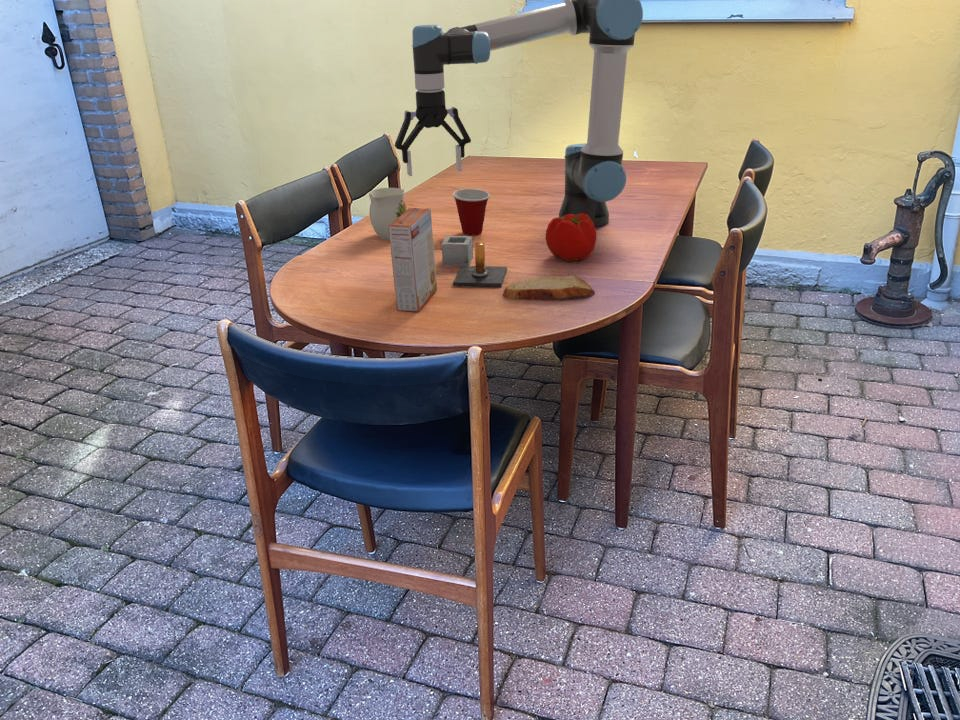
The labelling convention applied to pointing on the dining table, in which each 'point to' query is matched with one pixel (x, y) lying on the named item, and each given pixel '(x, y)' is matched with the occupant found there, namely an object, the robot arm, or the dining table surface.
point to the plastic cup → (471, 209)
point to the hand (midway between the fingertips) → (434, 172)
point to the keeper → (480, 272)
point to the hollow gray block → (457, 251)
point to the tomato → (571, 236)
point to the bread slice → (549, 289)
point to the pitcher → (386, 209)
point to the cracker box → (413, 259)
